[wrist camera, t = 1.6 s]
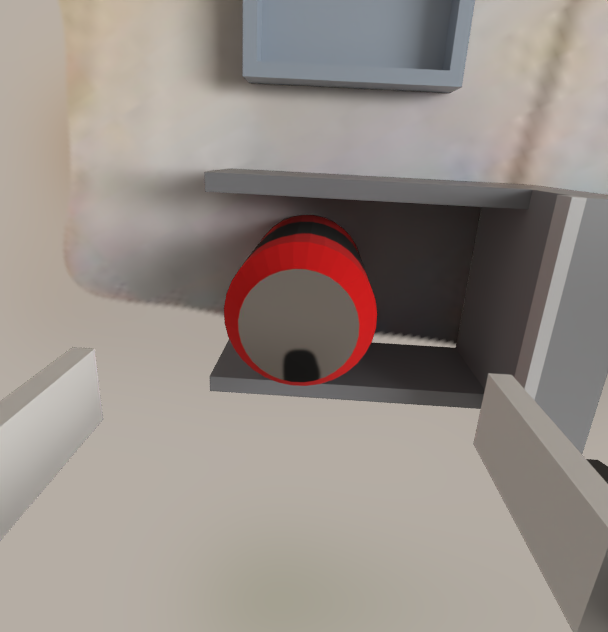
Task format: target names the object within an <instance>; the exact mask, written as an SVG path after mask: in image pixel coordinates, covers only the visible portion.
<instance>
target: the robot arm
mask: <svg viewBox="0 0 608 632" xmlns="http://www.w3.org/2000/svg"><path fill="white" fill-rule="evenodd" d="M102 420H103V414H102V405H101V396H100V388H99V380H98V371H97V363H96V355H95V349H92V348H75V347H72V348H71V349H69V350H68V351H67V352H65V353H64V354H63V355H61V356H60V357H59V358H57V359H56V360H55V361H53V362H52V363H51V364H49V365H48V366H47V367H46V368H44V369H43V370H42V371H40V372H39V373H37V374H36V375H35V376H33V377H32V378H31V379H29V380H28V381H27V382H25V383H24V384H23V385H21V386H20V387H19V388H17V389H16V390H15V391H13V392H12V393H11V394H9V395H8V396H7V397H5V398H4V399H2V400H1V401H0V541H1V540H2V538H3V537H4V536H5V535H6V534H7V533H8V531H9V530H10V529H11V528H12V526H13V525H14V524H15V523H16V522H17V521H18V520H19V518H20V517H21V516H22V515H23V513H24V512H25V511H26V510H27V509H28V508H29V507H30V505H31V504H32V503H33V502H34V501H35V499H36V498H37V497H38V496H39V495H40V494H41V492H42V491H43V490H44V489H45V488H46V486H47V485H48V484H49V483H50V482H51V480H52V479H53V478H54V477H55V476H56V475H57V473H58V472H59V471H60V470H61V469H62V467H63V466H64V465H65V464H66V463H67V462H68V461H69V459H70V458H71V457H72V456H73V455H74V453H75V452H76V451H77V450H78V448H79V447H80V446H81V445H82V444H83V442H84V441H85V440H86V439H87V438H88V437H89V436H90V434H91V433H92V432H93V431H94V430H95V429H96V427H97V426H98V425H99V424H100V422H102ZM474 446H475V448H476V450H477V452H478V453H479V455H480V457H481V459H482V461H483V463H484V465H485V467H486V469H487V470H488V472H489V474H490V476H491V478H492V480H493V482H494V484H495V486H496V487H497V489H498V491H499V493H500V495H501V497H502V499H503V501H504V503H505V504H506V506H507V508H508V510H509V512H510V514H511V516H512V518H513V520H514V521H515V523H516V525H517V527H518V529H519V531H520V533H521V535H522V536H523V538H524V540H525V542H526V544H527V546H528V548H529V550H530V552H531V553H532V555H533V557H534V559H535V561H536V563H537V565H538V567H539V569H540V570H541V572H542V574H543V576H544V578H545V580H546V581H547V584H548V586H549V587H550V589H551V591H552V593H553V595H554V597H555V599H556V600H557V603H558V604H559V606H560V608H561V610H562V612H563V614H564V616H565V617H566V620H567V621H568V623H569V625H570V627H571V629H572V631H573V632H608V466H606V465H605V464H603V463H602V462H600V461H598V460H591V459H590V460H589V459H585V458H584V456H583V455H582V454H581V453H580V452H579V451H578V450H577V448H576V447H575V446H574V445H573V444H572V443H571V442H570V440H569V439H568V438H567V437H566V436H565V435H564V434H563V432H562V431H561V430H560V429H559V428H558V427H557V426H556V425H555V423H554V422H553V421H552V420H551V419H550V418H549V417H548V415H547V414H546V413H545V412H544V411H543V410H542V409H541V407H540V406H539V405H538V404H537V403H536V402H535V401H534V400H533V398H532V397H531V396H530V395H529V394H528V393H527V392H526V390H525V389H524V388H523V387H522V386H521V385H520V384H519V382H518V381H517V380H516V379H515V378H514V377H513V376H512V375H508V374H492V373H488V377H487V382H486V387H485V391H484V396H483V401H482V406H481V410H480V415H479V420H478V425H477V429H476V434H475V439H474Z"/></svg>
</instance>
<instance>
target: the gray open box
mask: <svg viewBox="0 0 608 632" xmlns="http://www.w3.org/2000/svg"><path fill="white" fill-rule="evenodd" d="M205 192H222V193H240V194H258V195H277V196H295V197H313V198H331V199H349V200H367V201H385V202H403V203H421V204H439V205H457V206H475V207H481V212H480V217H479V223H478V228H477V234H476V239H475V245H474V250H473V256H472V261H471V267H470V272H469V278H468V283H467V289H466V294H465V300H464V305H463V311H462V316H461V322H460V327H459V333H458V338H457V344H456V348H449V347H433V346H417V345H400V344H385V343H371V344H370V346H369V348H368V349H367V351H366V353H365V354H364V356H363V357H362V358H361V359H360V360H359V362H358V363H357V364H356V365H355V366H354V367H352V368H351V369H350V370H349V371H347V372H346V373H345V374H343V375H341V376H339V377H337V378H335V379H334V380H331V381H328V382H325V383H322V384H316V385H309V386H294V385H288V384H283V383H278V382H276V381H273V380H271V379H268V378H266V377H264V376H262V375H261V374H259V373H258V372H256V371H254V370H253V369H252V368H251V367H250V366H249V365H247V364H246V363H245V362H244V361H243V360H242V359H241V357H240V356H239V355H238V353H237V352H236V350H235V349H234V347H233V345H232V343H231V341H230V339H229V341H228V343H227V344H226V347H225V348H224V350H223V352H222V354H221V356H220V358H219V360H218V362H217V364H216V365H215V367H214V369H213V371H212V373H211V375H210V391H220V392H221V391H222V392H236V393H251V394H267V395H282V396H297V397H311V398H327V399H341V400H356V401H372V402H373V401H374V402H387V403H402V404H403V403H404V404H417V405H433V406H448V407H463V408H477V409H481V406H482V401H483V396H484V391H485V387H486V382H487V377H488V373H492V374H508V375H512V376H513V377H514V378H515V379H516V380H517V381H518V382H519V384H520V385H521V386H522V387H523V388H524V389H525V390H526V392H527V393H528V394H529V395H530V396H531V397H532V398H533V400H534V401H535V402H536V403H537V404H538V405H539V406H540V407H541V409H542V410H543V411H544V412H545V413H546V414H547V415H548V417H549V418H550V419H551V420H552V421H553V422H554V423H555V425H556V426H557V427H558V428H559V429H560V430H561V431H562V432H563V434H564V435H565V436H566V437H567V438H568V439H569V440H570V442H571V443H572V444H573V445H574V446H575V447H576V448H577V450H578V451H579V452H580V453H581V454H582V453H583V450H584V446H585V443H586V440H587V437H588V434H589V430H590V427H591V424H592V421H593V418H594V415H595V412H596V408H597V405H598V402H599V399H600V396H601V393H602V390H603V386H604V383H605V380H606V377H607V374H608V195H605V194H597V193H589V192H582V191H574V190H566V189H559V188H551V187H544V186H536V185H524V184H505V183H487V182H468V181H450V180H431V179H413V178H394V177H376V176H358V175H339V174H321V173H302V172H284V171H265V170H247V169H224V170H215V171H207V172H205Z"/></svg>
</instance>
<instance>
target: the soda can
mask: <svg viewBox="0 0 608 632" xmlns="http://www.w3.org/2000/svg"><path fill="white" fill-rule="evenodd" d="M224 318H225V326H226V330H227V334H228V337H229V339H230V341H231V343H232V345H233V347H234V349H235V350H236V352H237V353H238V355H239V356H240V357H241V359H242V360H243V361H244V362H245V363H246V364H247V365H249V366H250V367H251V368H252V369H253V370H254V371H256V372H258V373H259V374H261V375H262V376H264V377H266V378H268V379H271V380H273V381H276V382H278V383H283V384H288V385H294V386H309V385H316V384H322V383H325V382H328V381H331V380H334V379H335V378H337V377H339V376H341V375H343V374H345V373H346V372H347V371H349V370H350V369H351V368H352V367H354V366H355V365H356V364H357V363H358V362H359V360H360V359H361V358H362V357H363V356H364V354H365V353H366V351H367V349H368V348H369V346H370V344H371V342H372V339H373V336H374V333H375V329H376V321H377V309H376V301H375V297H374V294H373V291H372V289H371V286H370V283H369V280H368V277H367V275H366V272H365V269H364V266H363V264H362V261H361V258H360V255H359V252H358V250H357V247H356V245H355V243H354V241H353V240H352V238H351V236H350V235H349V234H348V233H347V232H346V231H345V230H344V229H343V228H342V227H340V226H339V225H338V224H336V223H335V222H333V221H331V220H328V219H326V218H323V217H319V216H315V215H301V216H295V217H291V218H289V219H286V220H284V221H282V222H280V223H279V224H277V225H276V226H274V227H273V228H272V229H271V230H270V231H269V232H268V233H267V234H266V235H265V236H264V238H263V239H262V240H261V242H260V243H259V244H258V246H257V247H256V248H255V249H254V251H253V252H252V253H251V255H250V256H249V257H248V259H247V260H246V261H245V263H244V264H243V265H242V267H241V268H240V269H239V271H238V272H237V274H236V275H235V277H234V278H233V280H232V281H231V284H230V287H229V289H228V292H227V294H226V300H225V306H224Z"/></svg>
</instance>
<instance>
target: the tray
mask: <svg viewBox="0 0 608 632" xmlns="http://www.w3.org/2000/svg"><path fill="white" fill-rule="evenodd" d="M474 4H475V0H243V77H244V78H245V79H246V80H247V81H248V82H249V83H258V84H278V85H298V86H319V87H339V88H359V89H379V90H399V91H420V92H440V93H451V92H453V91H455V90H457V89H459V88H461V87H462V82H463V75H464V69H465V62H466V56H467V49H468V43H469V36H470V30H471V23H472V17H473V10H474Z"/></svg>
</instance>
